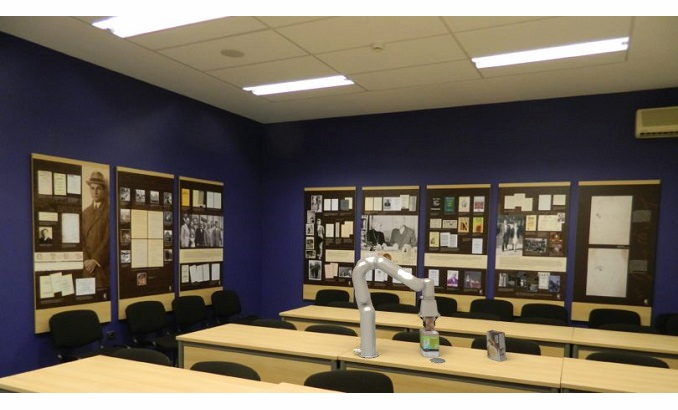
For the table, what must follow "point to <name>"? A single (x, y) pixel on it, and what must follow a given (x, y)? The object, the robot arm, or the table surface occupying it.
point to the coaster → (437, 360)
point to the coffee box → (496, 345)
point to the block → (429, 323)
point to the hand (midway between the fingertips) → (429, 326)
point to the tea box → (429, 342)
